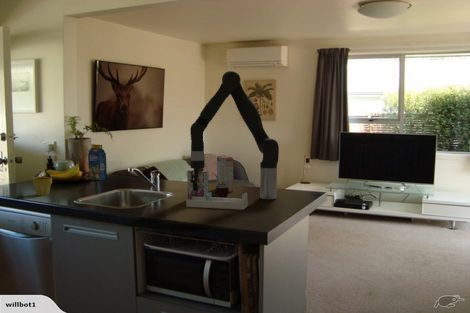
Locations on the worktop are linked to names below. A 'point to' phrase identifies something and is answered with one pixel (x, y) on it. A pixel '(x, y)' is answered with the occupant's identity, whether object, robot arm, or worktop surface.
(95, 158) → the blue food package
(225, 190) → the mate gourd
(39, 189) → the plant pot
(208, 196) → the pusher paddle
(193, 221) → the worktop surface
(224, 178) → the cracker box
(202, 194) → the candy bar box
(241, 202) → the pusher lane
